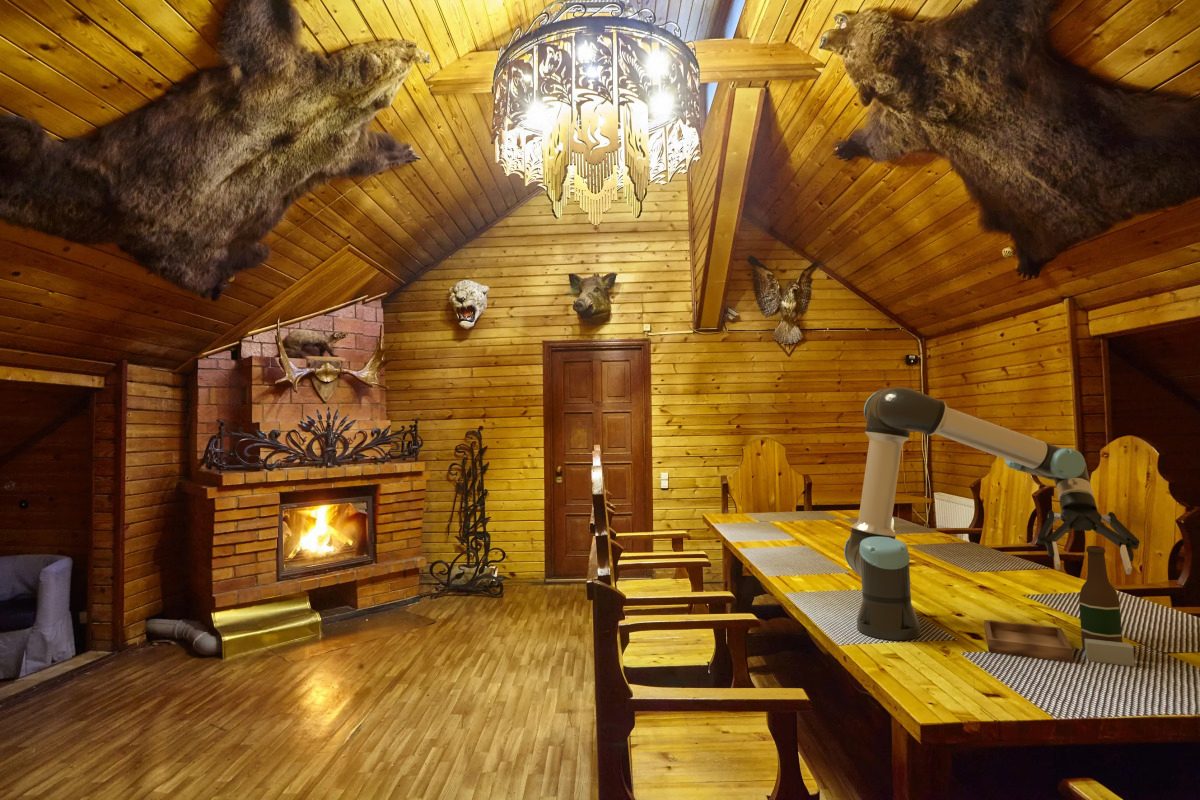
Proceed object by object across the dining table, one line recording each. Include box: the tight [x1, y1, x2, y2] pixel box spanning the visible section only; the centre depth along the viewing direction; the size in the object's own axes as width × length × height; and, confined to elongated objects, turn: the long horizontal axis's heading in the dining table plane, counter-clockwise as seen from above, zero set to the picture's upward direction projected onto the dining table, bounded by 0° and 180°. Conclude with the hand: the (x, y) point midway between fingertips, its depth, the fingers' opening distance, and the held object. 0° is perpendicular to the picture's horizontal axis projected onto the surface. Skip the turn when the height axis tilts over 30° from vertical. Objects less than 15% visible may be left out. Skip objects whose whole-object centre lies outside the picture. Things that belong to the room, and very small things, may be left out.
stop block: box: [1084, 639, 1136, 667], centre depth 138 cm, size 8×3×4 cm, turn 61°
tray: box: [983, 619, 1075, 663], centre depth 148 cm, size 16×16×3 cm
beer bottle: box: [1078, 545, 1123, 651], centre depth 144 cm, size 8×8×24 cm
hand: (1092, 569), depth 149 cm, fingers open, 13 cm apart
